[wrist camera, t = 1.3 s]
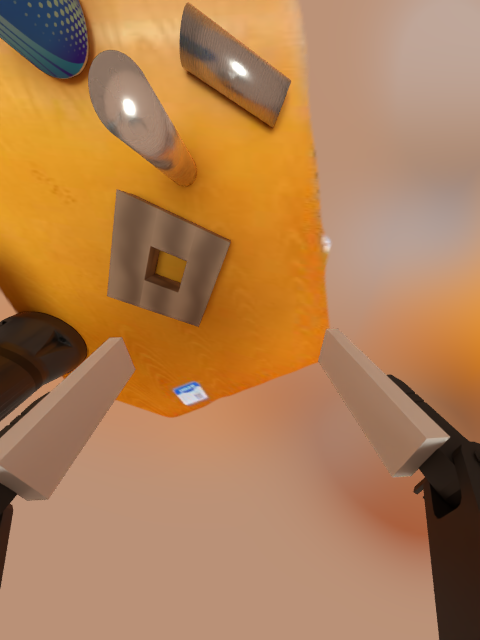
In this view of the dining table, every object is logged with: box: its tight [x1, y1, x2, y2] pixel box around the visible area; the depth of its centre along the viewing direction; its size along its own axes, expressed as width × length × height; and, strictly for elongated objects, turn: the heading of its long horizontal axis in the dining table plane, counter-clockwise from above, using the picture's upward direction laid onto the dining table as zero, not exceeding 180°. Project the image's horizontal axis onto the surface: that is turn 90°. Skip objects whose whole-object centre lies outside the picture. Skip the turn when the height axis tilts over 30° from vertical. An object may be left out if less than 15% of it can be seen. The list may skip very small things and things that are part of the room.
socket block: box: [107, 190, 231, 327], centre depth 30 cm, size 16×16×4 cm
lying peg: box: [180, 3, 291, 128], centre depth 20 cm, size 12×4×4 cm, turn 66°
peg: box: [88, 50, 197, 186], centre depth 18 cm, size 4×4×16 cm
